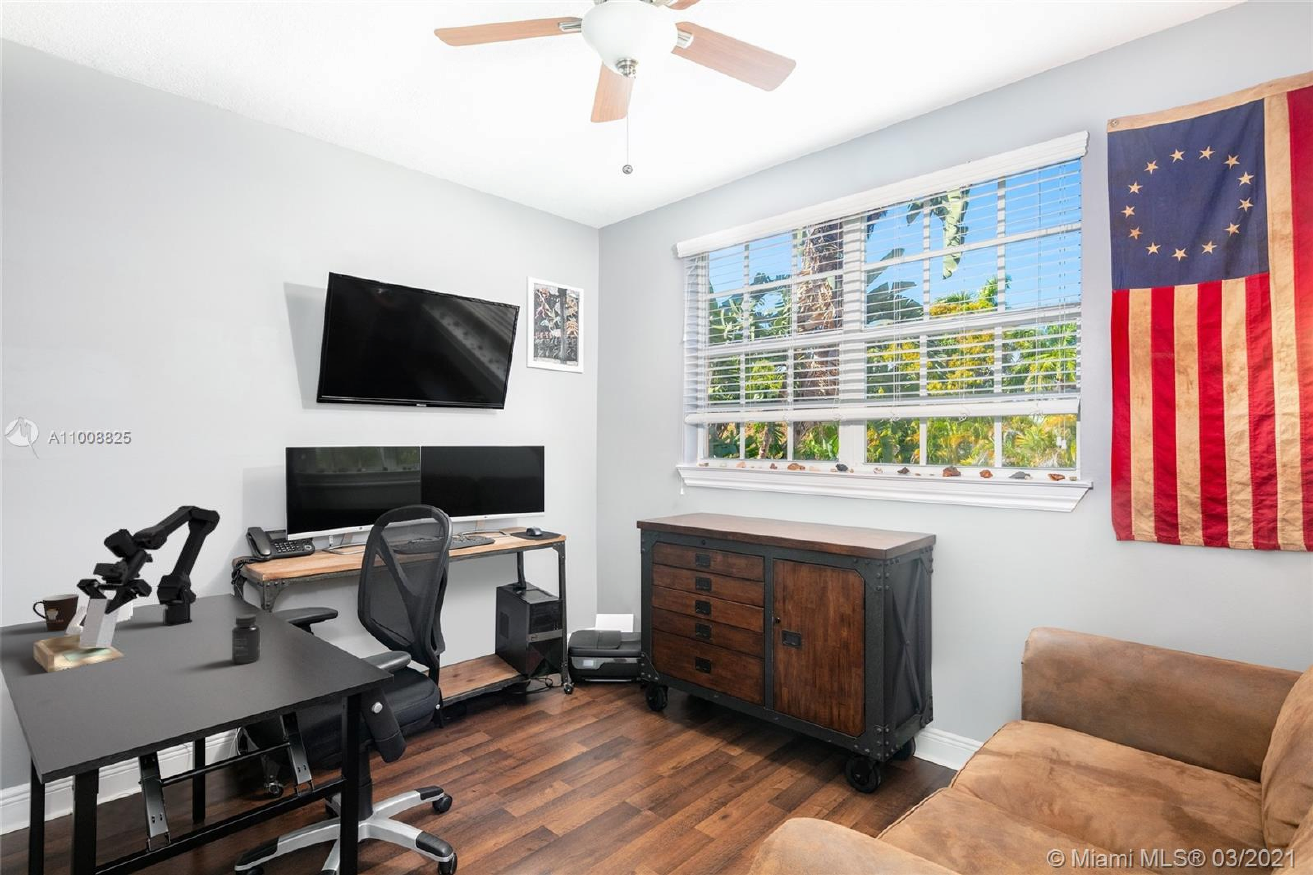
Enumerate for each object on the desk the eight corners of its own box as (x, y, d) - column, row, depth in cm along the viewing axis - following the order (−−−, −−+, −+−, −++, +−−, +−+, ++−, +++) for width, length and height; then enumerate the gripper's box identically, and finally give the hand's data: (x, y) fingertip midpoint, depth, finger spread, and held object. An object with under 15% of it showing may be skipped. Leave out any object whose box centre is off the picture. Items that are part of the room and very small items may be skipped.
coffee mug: (85, 626, 215) (85, 595, 215) (53, 633, 207) (53, 601, 207) (61, 623, 219) (61, 592, 219) (29, 630, 211) (29, 598, 211)
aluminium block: (93, 647, 191) (104, 600, 195) (110, 647, 191) (121, 600, 194) (78, 647, 186) (90, 599, 190) (95, 647, 186) (107, 599, 190)
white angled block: (120, 613, 231) (120, 578, 231) (141, 616, 226) (141, 581, 226) (84, 621, 221) (84, 584, 221) (105, 625, 217) (105, 587, 217)
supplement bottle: (266, 658, 183) (266, 614, 183) (242, 666, 177) (242, 620, 177) (250, 655, 186) (250, 612, 186) (225, 662, 180) (225, 618, 180)
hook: (109, 616, 208) (101, 607, 203) (88, 654, 201) (78, 646, 195) (82, 612, 207) (73, 603, 201) (59, 650, 199) (49, 642, 194)
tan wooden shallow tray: (105, 644, 196) (105, 628, 196) (123, 657, 185) (123, 640, 185) (33, 657, 184) (33, 641, 184) (48, 672, 172) (48, 655, 172)
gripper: (82, 551, 195) (46, 598, 184) (144, 551, 194) (112, 598, 183) (105, 572, 203) (72, 618, 192) (165, 573, 202) (135, 619, 191)
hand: (97, 613), depth 189 cm, fingers closed on aluminium block, 5 cm apart
